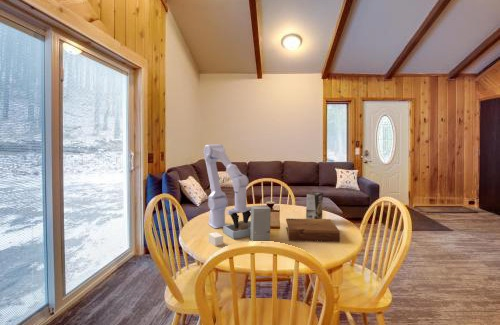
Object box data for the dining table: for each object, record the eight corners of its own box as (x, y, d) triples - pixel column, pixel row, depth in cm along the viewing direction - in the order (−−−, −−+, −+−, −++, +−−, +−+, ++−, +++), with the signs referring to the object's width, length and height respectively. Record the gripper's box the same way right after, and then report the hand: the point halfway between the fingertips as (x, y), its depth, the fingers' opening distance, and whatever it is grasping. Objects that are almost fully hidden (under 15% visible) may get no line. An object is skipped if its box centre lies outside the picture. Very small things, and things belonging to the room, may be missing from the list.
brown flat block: (289, 242, 128) (289, 230, 128) (286, 229, 147) (286, 218, 147) (339, 242, 127) (339, 230, 127) (330, 229, 146) (330, 218, 145)
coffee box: (316, 224, 154) (316, 195, 152) (305, 221, 158) (306, 193, 156) (322, 220, 161) (323, 192, 159) (312, 218, 165) (312, 191, 163)
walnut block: (234, 231, 140) (234, 222, 140) (241, 229, 142) (241, 220, 142) (240, 234, 135) (240, 225, 134) (247, 232, 137) (247, 223, 137)
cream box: (208, 242, 127) (208, 233, 127) (216, 240, 130) (216, 232, 129) (215, 246, 123) (215, 237, 122) (223, 244, 125) (223, 235, 125)
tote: (223, 232, 140) (223, 226, 139) (253, 226, 149) (253, 220, 149) (233, 239, 130) (233, 232, 130) (265, 232, 140) (265, 225, 140)
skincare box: (253, 243, 125) (253, 209, 124) (249, 238, 132) (249, 205, 131) (271, 242, 127) (271, 208, 126) (266, 236, 134) (266, 204, 133)
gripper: (231, 203, 130) (231, 231, 131) (257, 199, 138) (257, 226, 139) (224, 200, 136) (224, 227, 137) (249, 197, 144) (249, 222, 145)
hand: (240, 226), depth 139 cm, fingers closed on walnut block, 4 cm apart
